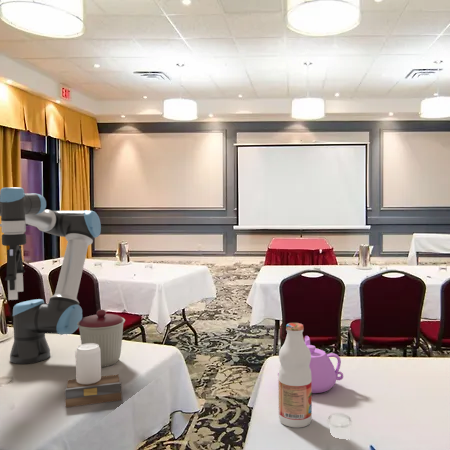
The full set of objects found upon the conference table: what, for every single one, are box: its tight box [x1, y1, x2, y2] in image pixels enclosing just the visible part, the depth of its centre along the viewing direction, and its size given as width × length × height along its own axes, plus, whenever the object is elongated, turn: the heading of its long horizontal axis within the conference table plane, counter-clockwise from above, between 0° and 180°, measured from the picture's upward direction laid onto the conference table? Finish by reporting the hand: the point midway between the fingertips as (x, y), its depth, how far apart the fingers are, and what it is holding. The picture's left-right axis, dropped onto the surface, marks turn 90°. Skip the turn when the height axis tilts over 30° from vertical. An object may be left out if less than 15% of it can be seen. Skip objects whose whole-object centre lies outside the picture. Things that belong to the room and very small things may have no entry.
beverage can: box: [74, 343, 102, 385], centre depth 159 cm, size 8×8×12 cm
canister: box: [77, 309, 126, 368], centre depth 183 cm, size 18×18×21 cm
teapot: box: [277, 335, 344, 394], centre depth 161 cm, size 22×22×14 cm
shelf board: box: [64, 373, 123, 408], centre depth 155 cm, size 16×17×6 cm
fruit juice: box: [277, 322, 313, 429], centre depth 134 cm, size 9×9×28 cm
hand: (16, 295), depth 160 cm, fingers open, 13 cm apart
